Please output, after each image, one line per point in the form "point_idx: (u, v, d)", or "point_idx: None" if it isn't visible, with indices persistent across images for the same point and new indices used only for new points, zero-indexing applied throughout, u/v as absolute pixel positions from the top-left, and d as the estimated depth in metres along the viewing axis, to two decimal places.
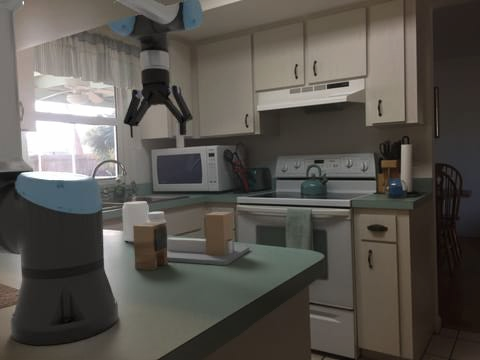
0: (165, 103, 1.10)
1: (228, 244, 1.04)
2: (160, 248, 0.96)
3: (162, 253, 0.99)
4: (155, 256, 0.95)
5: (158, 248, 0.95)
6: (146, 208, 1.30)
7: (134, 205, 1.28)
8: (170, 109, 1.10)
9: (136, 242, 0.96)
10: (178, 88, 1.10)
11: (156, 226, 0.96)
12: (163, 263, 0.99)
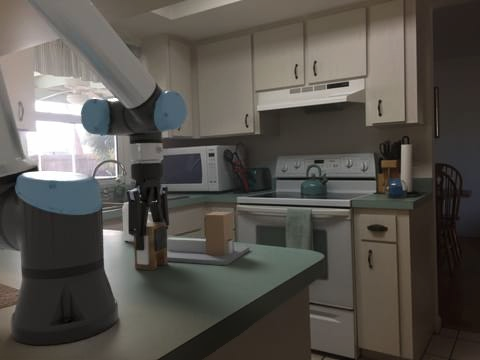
0: None
1: (228, 244, 1.04)
2: (160, 248, 0.96)
3: (162, 253, 0.99)
4: (155, 256, 0.95)
5: (158, 248, 0.95)
6: None
7: None
8: None
9: None
10: (131, 194, 0.91)
11: (156, 226, 0.96)
12: (163, 263, 0.99)
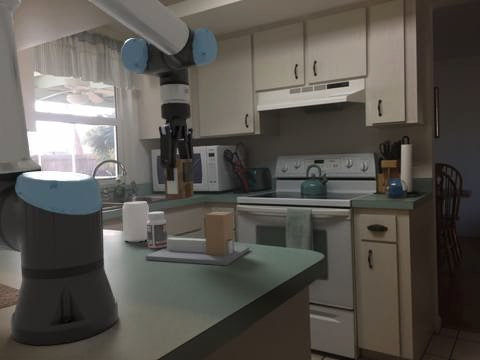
0: None
1: (228, 244, 1.04)
2: (188, 180, 1.07)
3: (189, 186, 1.10)
4: (183, 187, 1.06)
5: (186, 179, 1.06)
6: (146, 208, 1.30)
7: (134, 205, 1.28)
8: None
9: (166, 174, 1.07)
10: (163, 129, 1.02)
11: (184, 160, 1.07)
12: (190, 195, 1.10)
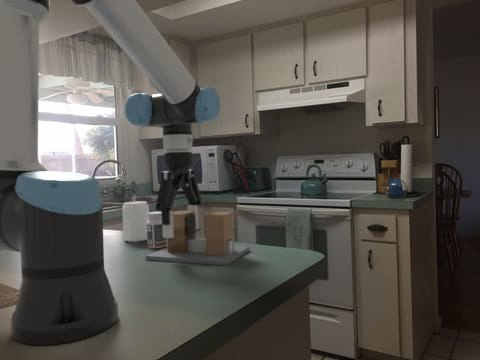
0: None
1: (228, 244, 1.04)
2: (190, 234, 1.08)
3: None
4: (186, 241, 1.07)
5: (189, 234, 1.07)
6: (146, 208, 1.30)
7: (134, 205, 1.28)
8: None
9: None
10: (165, 174, 1.03)
11: (187, 214, 1.08)
12: None
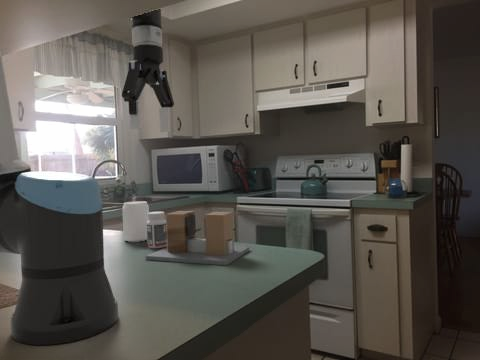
0: None
1: (228, 244, 1.04)
2: (190, 234, 1.08)
3: None
4: (186, 241, 1.07)
5: (189, 234, 1.07)
6: (146, 208, 1.30)
7: (134, 205, 1.28)
8: None
9: (169, 228, 1.08)
10: (133, 63, 1.01)
11: (187, 214, 1.08)
12: None
